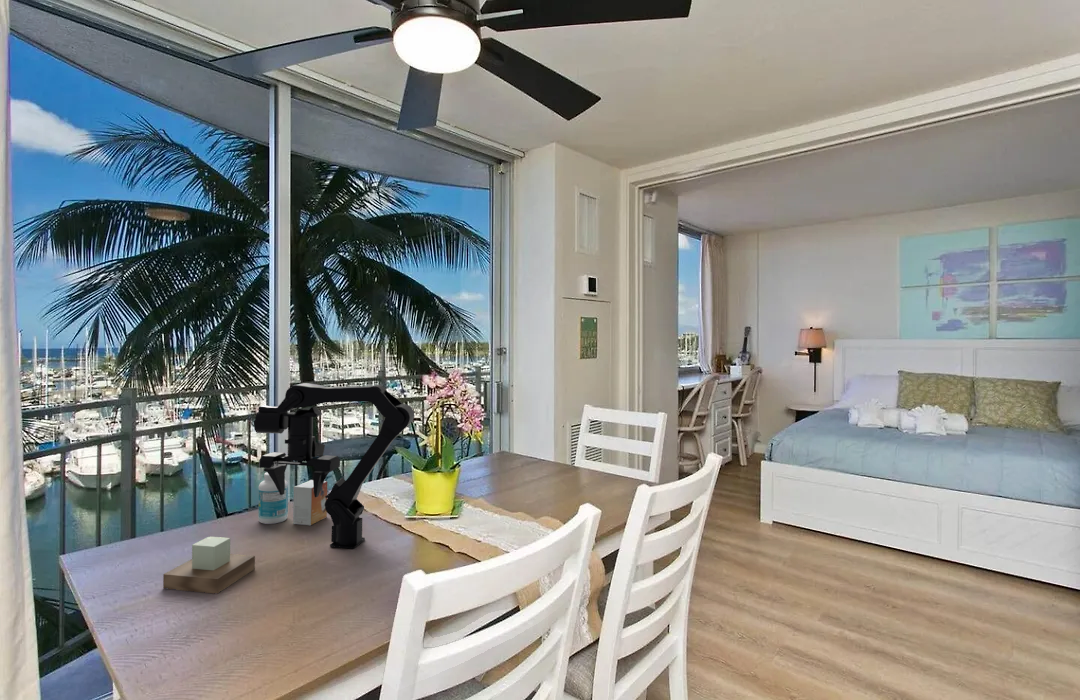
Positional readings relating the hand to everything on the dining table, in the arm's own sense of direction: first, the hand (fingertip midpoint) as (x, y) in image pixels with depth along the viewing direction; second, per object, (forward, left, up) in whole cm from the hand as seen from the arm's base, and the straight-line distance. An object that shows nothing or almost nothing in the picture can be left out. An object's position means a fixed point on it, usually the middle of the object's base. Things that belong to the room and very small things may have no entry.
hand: (299, 495), depth 140 cm
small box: (+6, -16, -12) cm, 21 cm away
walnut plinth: (+7, +22, -12) cm, 26 cm away
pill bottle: (+16, -14, -12) cm, 25 cm away
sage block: (+7, +22, -9) cm, 25 cm away
